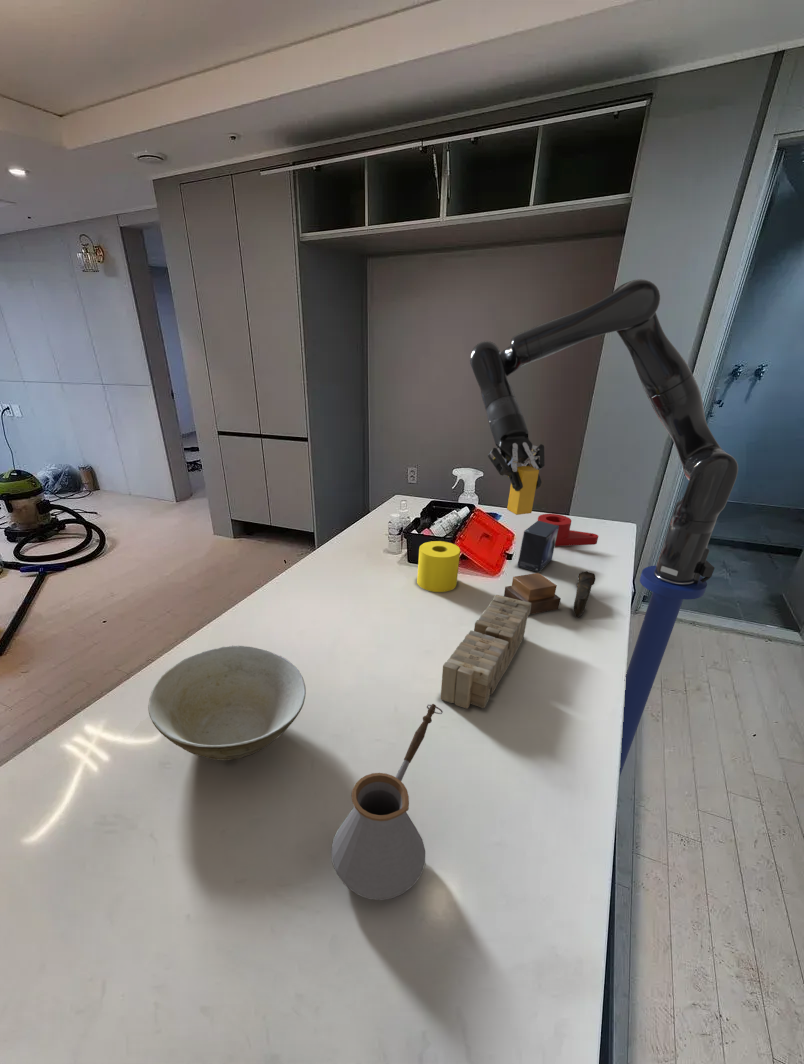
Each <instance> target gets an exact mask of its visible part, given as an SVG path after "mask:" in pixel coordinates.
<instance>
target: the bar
mask: <svg viewBox="0 0 804 1064" xmlns="http://www.w3.org/2000/svg"><path fill="white" fill-rule="evenodd" d="M517 472H519V475H520V478H521V481H522V484H523V488H522V489H521V490H520V491H515V489H513V487H512V484H511V483H510V487H509V495H508V501H507V507H506V510H507V511H509V512H511V513H512V514H514V515H515V516H519V515H527V514H528V515H529V514H532V512H533V506H534V500H535V496H536V490H537V489H536V485H537V479H538V474H539V475H540V470H538V469H535V468H533V467H531V465H530V466H522V465H520V466H517Z"/></svg>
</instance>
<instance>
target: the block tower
mask: <svg viewBox="0 0 804 1064" xmlns="http://www.w3.org/2000/svg"><path fill="white" fill-rule="evenodd" d="M530 610H531V603H529V602H525V601H521V600H516V599H512V598H508V597H504V595H499V594H495V595H494V597H493V599H492V600H491V601H490V603H489V605H488V606H487V607H486V608H485V609H484V611H483V612H482V613H481V615H480V617H479V618H478V619H477V620H476V621H475V622H474V629H473V630H469V632H468V634H466V635H465V636H464V639H462V641H461V642H459V644H458V645H457V647H456V648H455V650H454V651H453V653H451V655H450V656H449V658H448V659H447V661H445V662H444V664H443V665H442V673H441V689H440V700H442V701H444V702H447V703H450V704H454V705H455V706H457V707H461V708H462V709H463V708H464V709H466V710H467V709H469V707H470V705H473V706H476V707H478V708H481V709H485V708H486V707H487V704H488V703H489V701H490V695H493V693H494V692H495V691H496V689H497V687H498V685H499V682H500V681H501V680H502V678H503V676H504V675H505V673H506V672H507V670H508V668H509V667H510V664H511V662H512V660H513V659H514V657H515V655H516V653H517V652H518V649H519V647H520V646H521V643H522V642H523V639H524V638H525V632H526V628H527V623H528V618H529V617H528V616H530V615H529V614H530Z"/></svg>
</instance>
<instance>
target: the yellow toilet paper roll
mask: <svg viewBox="0 0 804 1064" xmlns="http://www.w3.org/2000/svg"><path fill="white" fill-rule="evenodd" d="M460 556H461V548H460V547H459V546H458V545H457V544H455V543H452V542H448V541H443V540H433V541H431V540H430V541H426V542H424V543H422V544H420V545H419V548H418V560H417V561H418V562H417V577H416V584H417V586H419V587H420V588H421V589H423V590H425V591H428V592H434V593H445V592H446V593H447V592H450V591H453V590H454V589H455V588H456V587H457V584H458V574H459V564H460Z"/></svg>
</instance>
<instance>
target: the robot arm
mask: <svg viewBox="0 0 804 1064" xmlns="http://www.w3.org/2000/svg"><path fill="white" fill-rule="evenodd" d="M660 303H661V293H660V290H659V288H658V286H657V285H656V284H655V283H654V282H652V281H651V280H647V279H642V278H641V279H640V278H639V279H638V278H637V279H633V280H630V281H628V282H624V283H623V284H621V285H619V286H618V287H617V288H616V289H614V290H613V292H612V293H611V294H609V296H607V297H605V298H603V299H601V300H600V301H598V302H596V303H594V304H592V305H590V306H587V307H585V308H582V309H580V310H578V311H576V312H572V313H570V314H566V315H563V316H561V317H558V318H554V319H552V320H548V321H546V322H543V323H540V324H538V325H536V326H533V327H530V328H528V329H526V330H524V331H521V332H519V333H517V334H515V335H514V336H512V338H511V339H510V344H509V346H508V347H506V348H505V349H503V350H502V351H500V348H499V346H498V345H497V344H496V343H494V342H493V341H489V340H483V341H480V342H478V343H477V344H475V346H473V348H472V350H471V352H470V355H469V364H470V366H471V367H470V368H471V370H472V372H473V375H474V377H475V380H476V382H477V385H478V387H479V390H480V394H481V399H482V403H483V405H484V409H485V412H486V417H487V422H488V425H489V428H490V432H491V435H492V438H493V441H494V444H495V446H496V447H493V448H492V449H491V451H490V452H489V453H488V454H487V458H488V459H489V460H490V462H491V463H492V465H493V466H494V468H495V469H496V471H497V473H498V474H499V475H500V476H507V477H508V479H509V481H510V485H511V484H512V487H513V489H515V491H520V490H521V489H522V488H523V484H522V481H521V478H520V475H519V472H517V467H518V464H520V466H531V467H533V468H535V469H538V470H539V471H540V470H542V469H543V468H544V467H545V465H546V464H545V445H544V444H542V443H541V444H538V445H534V444H533V443H532V441H531V440H530V439H529V430H528V426H527V424H526V421H525V418H524V414H523V412H522V409H521V406H520V404H519V402H518V401H517V398H516V395H515V392H514V388H513V386H512V384H511V382H510V381H509V378H508V377H509V376H510V375H512V374H513V373H515V372H517V371H518V370H519V369H521V368H523V367H524V366H525V365H528V364H532V363H534V362H536V361H539V360H541V359H545V358H547V357H549V356H552V355H554V354H556V353H558V352H561V351H563V350H565V349H568V348H570V347H572V346H575V345H577V344H579V343H582V342H584V341H587V340H590V339H593V338H596V337H599V336H602V335H605V334H609V333H610V334H611V333H614V332H616V333H617V335H618V336H619V338H620V340H621V341H622V342H623V344H624V345H625V347H626V349H627V351H628V352H629V354H630V356H631V360H632V362H633V364H634V367H635V370H636V373H637V376H638V378H639V380H640V383H641V385H642V388H643V390H644V393H645V395H646V396H647V399H648V401H649V403H650V405H651V407H652V409H653V411H654V413H655V414H656V416H657V418H658V420H659V421H660V423H661V425H662V426H663V428H664V429H665V431H666V432H667V434H668V435H669V436H670V439H671V440H672V442H673V444H674V446H675V449H676V451H677V454H678V457H679V461H680V464H681V467H682V470H683V473H684V476H685V477H686V479H687V480H688V482H687V486H686V489H685V491H684V494H683V496H682V498H681V500H678V501H677V502H676V504H675V507H674V510H673V513H672V517H671V519H670V522H669V526H668V529H667V531H666V535H665V538H664V541H663V545H662V548H661V551H660V554H659V557H658V561H657V564H656V565H655V566H656V569H655V571H654V576H655V577H656V578H657V579H659V580H661V581H663V582H666V583H669V584H673V585H680V586H687V585H692V584H697V583H698V581H699V578H700V576H701V577H702V578H703V579H701V580H700V581H701V582H705V581H706V582H707V581H708V580H710V578H712V577H713V574H714V571H715V566H714V565H712V564H711V562H709V561H708V560H707V559H708V556H709V553H710V549H709V548H708V545H709V542H710V540H711V536H712V534H713V531H714V529H715V526H716V523H717V519H718V517H719V515H720V513H721V512H722V511H723V510H724V509H725V507H726V505H727V503H728V501H729V499H730V496H731V493H732V491H733V488H734V485H735V483H736V480H737V478H738V473H739V464H738V461H737V460H736V458H735V457H734V456H733V455H731V454H729V453H728V452H726V451H725V450H724V449H723V448H722V446H721V445H720V444H719V443H718V441H717V440H716V438H715V436H714V435H713V433H712V431H711V430H710V428H709V426H708V423H707V420H706V415H705V407H704V401H703V397H702V392H701V390H700V387H699V385H698V383H697V380H696V379H695V376H694V374H693V372H692V369H691V368H690V367H689V364H688V363H687V361H686V360H685V358H684V357H683V356H682V355H681V353H680V352H679V351H678V349H677V348H676V347H675V346H674V345H673V343H672V342H671V341H670V339H669V338H668V337H667V335H666V334H665V332H664V330H663V328H662V325H661V322H660V320H659V317H658V315H657V311H658V309H659V306H660ZM541 486H542V479H541V476H540V473H539V474H538V479H537V485H536V490H538V489H539V488H540V487H541Z"/></svg>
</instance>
